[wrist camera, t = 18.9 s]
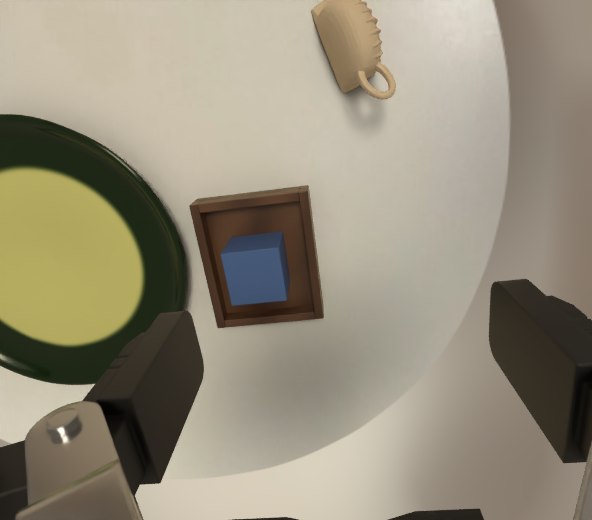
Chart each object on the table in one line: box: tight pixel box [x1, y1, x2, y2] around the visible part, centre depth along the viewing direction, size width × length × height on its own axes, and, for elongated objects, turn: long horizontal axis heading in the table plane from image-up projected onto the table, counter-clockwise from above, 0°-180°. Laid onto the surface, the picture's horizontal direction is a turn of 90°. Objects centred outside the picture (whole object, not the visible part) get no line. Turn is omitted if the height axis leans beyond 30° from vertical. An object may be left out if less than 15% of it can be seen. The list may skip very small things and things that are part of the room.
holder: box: [190, 186, 324, 328], centre depth 40 cm, size 11×13×2 cm
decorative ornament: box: [311, 0, 396, 99], centre depth 31 cm, size 4×8×5 cm, turn 23°
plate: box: [0, 114, 186, 385], centre depth 41 cm, size 28×28×2 cm
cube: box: [221, 231, 290, 306], centre depth 38 cm, size 5×5×4 cm
